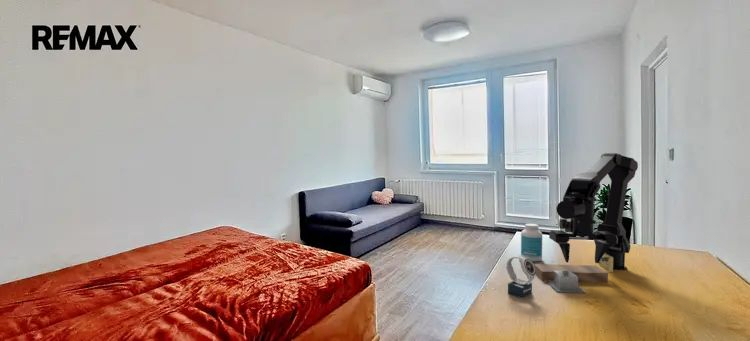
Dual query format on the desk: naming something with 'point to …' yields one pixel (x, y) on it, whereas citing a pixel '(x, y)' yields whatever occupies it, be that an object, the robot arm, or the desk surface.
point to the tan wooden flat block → (607, 262)
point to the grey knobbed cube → (565, 280)
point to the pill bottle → (531, 243)
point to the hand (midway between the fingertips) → (581, 262)
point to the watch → (518, 285)
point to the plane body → (581, 271)
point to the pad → (564, 290)
